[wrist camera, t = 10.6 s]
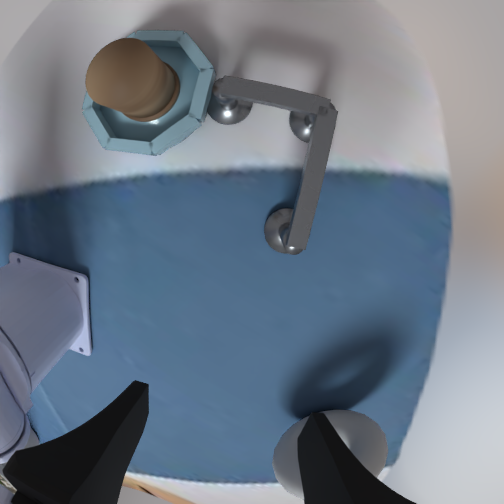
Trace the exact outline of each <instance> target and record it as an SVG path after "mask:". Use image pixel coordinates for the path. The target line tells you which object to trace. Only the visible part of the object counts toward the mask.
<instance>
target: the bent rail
mask: <svg viewBox="0 0 504 504" xmlns="http://www.w3.org/2000/svg"><path fill="white" fill-rule="evenodd" d="M252 102H254V103H259V104H263V105H268V106H273V107H277V108H281V109H286V110H290V111H291V113H290V117H289V123H290V127H291V130H292V131H293V133H294V134H295V135H296V136H297V137H298V138H299V139H300V140H302V141H304V142H307V143H309V144H308V149H307V153H306V158H305V162H304V167H303V171H302V175H301V179H300V184H299V188H298V192H297V196H296V201H295V205H294V209H292V208H282V209H279V210H276V211H275V212H273V213H272V214H271V215H270V216H269V217H268V219H267V221H266V223H265V227H264V233H265V238H266V241H267V243H268V244H269V245H270V247H271V248H273V249H274V250H275V251H277V252H280V253H289V254H292V255H296V254H299V253H300V252H302V250H305V249H306V245H307V242H308V238H309V235H310V230H311V227H312V223H313V219H314V215H315V211H316V207H317V203H318V199H319V195H320V191H321V186H322V182H323V178H324V174H325V169H326V165H327V161H328V156H329V152H330V147H331V143H332V138H333V133H334V129H335V124H336V119H337V114H338V111H336V109H335V107H334V106H333V104H332V103H330V99H327V98H323V97H320V96H316V95H313V94H309V93H305V92H302V91H298V90H294V89H290V88H286V87H281V86H277V85H272V84H268V83H263V82H258V81H253V80H247V79H242V78H236V77H230V76H224V78H222V79H219V80H217V81H216V82H215V83H214V84H213V87H212V93H211V98H210V102H209V105H208V108H207V112H208V114H209V115H210V116H211V118H212V119H214V120H215V121H217V122H218V123H221V124H226V125H231V124H236V123H239V122H241V121H242V120H244V119H245V118H246V117H247V116H248V115H249V113H250V111H251V108H252Z"/></svg>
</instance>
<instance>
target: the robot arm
mask: <svg viewBox="0 0 504 504" xmlns="http://www.w3.org/2000/svg"><path fill="white" fill-rule="evenodd" d="M76 277H77V278H78V279H79V281H78V280H77V279H76ZM68 349H71V350H74V351H76V352H79V353H81V354H84V355H87V356H89V355H90V354H91V353H92V346H91V333H90V317H89V281H88V278H87V276H86V275H84V274H81V273H78V272H74V271H71V270H68V269H64V268H61V267H58V266H55V265H51V264H48V263H45V262H42V261H39V260H36V259H33V258H30V257H27V256H24V255H21V254H18V253H15V252H12V253H10V255H9V264H7V265H5V266H3V267H1V268H0V464H2V463H6V462H7V463H6V465H5V467H4V468H3V470H2V471H3V474H4V476H5V477H6V479H7V480H8V481H9V482H10V483H11V484H12V486H13V487H14V488H15V489H16V490H17V491H16V493H15V494H13V493H12V492H11V491H9V490H8V489H7V488H5V487H4V486H2V485H1V484H0V504H117V502H118V498H119V494H120V490H121V486H122V483H123V479H124V476H125V473H126V470H127V468H128V465H129V463H130V461H131V458H132V456H133V454H134V452H135V449H136V447H137V445H138V443H139V440H140V438H141V436H142V433H143V431H144V427H145V424H146V421H147V417H148V414H149V396H148V392H149V384H146V383H143V382H139V381H136V380H135V381H133V382H132V383H131V384H130V385H129V386H128V387H127V388H126V389H125V390H124V391H123V392H122V393H121V394H120V395H119V396H118V397H117V398H116V399H115V400H114V401H113V402H111V403H110V404H109V405H108V406H107V407H106V408H104V409H103V410H102V411H101V412H99V413H98V414H97V415H95V416H94V417H93V418H91V419H90V420H89V421H87V422H86V423H84V424H82V425H81V426H79V427H78V428H76V429H74V430H72V431H70V432H68V433H66V434H65V435H63V436H60V437H58V438H56V439H53V440H51V441H48V442H45V443H43V444H40V445H37V446H33V447H29V448H25V449H24V447H25V446H26V444H27V442H28V439H29V436H30V422H29V419H28V417H27V415H26V413H27V412H28V411H29V409H30V408H31V407H32V405H33V403H32V401H31V399H30V394H31V393H32V392H33V391H34V389H35V388H36V387H37V386H38V384H39V383H40V382H41V381H42V380H43V378H44V377H45V376H46V375H47V374H48V372H49V371H50V370H51V369H52V368H53V366H54V365H55V364H56V363H57V362H58V361H59V359H60V358H61V357H62V356H63V355H64V354H65V353H66V351H67V350H68ZM297 451H298V463H299V469H300V475H301V481H302V487H303V493H304V502H305V504H416V503H414V502H412V501H410V500H408V499H406V498H404V497H403V496H401V495H399V494H398V493H396V492H395V491H393V490H391V489H390V488H389V487H387V486H386V485H385V484H383V483H382V482H381V481H380V480H378V479H377V478H376V477H375V476H374V475H373V474H372V473H371V472H370V471H368V470H367V469H366V468H365V467H364V466H363V465H362V464H361V462H360V461H359V460H358V459H357V458H356V457H355V456H354V454H353V453H352V452H351V451H350V449H349V448H348V447H347V445H346V444H345V443H344V441H343V440H342V439H341V437H340V436H339V434H338V433H337V431H336V430H335V429H334V427H333V426H332V424H331V423H330V421H329V420H328V418H327V417H326V415H325V414H324V413H315V412H311V414H310V416H309V418H308V420H307V422H306V424H305V425H304V427H303V429H302V431H301V433H300V435H299V436H298V438H297Z"/></svg>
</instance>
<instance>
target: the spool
mask: <svg viewBox="0 0 504 504" xmlns="http://www.w3.org/2000/svg"><path fill="white" fill-rule="evenodd" d="M86 89H87V92H88V95H89V96H90V98H91V99H92V100H93V101H94V102H96V103H98V104H100V105H103V106H105V107H108V108H111V109H114V110H117V111H119V112H122V113H123V114H124V115H125V116H126V117H128V118H130V119H132V120H135V121H139V122H149V121H154V120H156V119H159V118H161V117H162V116H164V115H165V114H166V113H168V112H169V111H170V110H171V109H172V107H173V106H174V105H175V103H176V101H177V99H178V97H179V93H180V79H179V76H178V74H177V73H176V71H175V70H174V69H173V68H172V67H171V66H170V65H169V64H167V63H165V62H163V61H162V60H161V59H160V58H159V57H158V56H157V55H156V54H155V53H154V51H153V50H152V49H151V48H150V47H149V46H148V45H147V44H146V43H145V42H143V41H141V40H139V39H136V38H122V39H119V40H116V41H113V42H111V43H110V44H108V45H106V46H105V47H104V48H103V49H101V50H100V51H99V52H98V53H97V54H96V56H95V57H94V58H93V60H92V61H91V63H90V65H89V68H88V70H87V74H86Z"/></svg>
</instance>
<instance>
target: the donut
mask: <svg viewBox="0 0 504 504" xmlns="http://www.w3.org/2000/svg"><path fill="white" fill-rule="evenodd" d="M318 413H324V414H325V415H326V417H327V418H328V420H329V421H330V423H331V424H332V426H333V427H334V429H335V430H336V431H337V433H338V434H339V436H340V437H341V439H342V440H343V441H344V443H345V444H346V445H347V447H348V448H349V449H350V451H351V452H352V453H353V454H354V456H355V457H356V458H357V459H358V460H359V461H360V462H361V464H362V465H363V466H364V467H365V468H366V469H367V470H368V471H370V472H371V473H372V474H373V475H374V476H375V477H376V478H377V477H378V475H379V474H380V472H381V471H382V469H383V468H384V466H385V462H386V458H387V454H388V447H387V441H386V436H385V433H384V432H383V431H382V429H381V428H380V426H379V425H378V424H377V423H376V422H375V421H373V420H372V419H370V418H369V417H367V416H366V415H365V414H361V413H358V412H355V411H351V410H329V411H322V412H318ZM308 418H309V416H307V417H305V418H303V419H302V420H300V421H298V422H297V423H295V424H293V425H292V426H291V427H290V428H289V429H288V430H287V431H286V432H285V433H284V434H283V435H282V437H281V438H280V440H279V442H278V444H277V446H276V447H275V449H274V455H273V462H272V464H273V469H274V472H275V476H276V479H277V480H278V481H279V483H280V484H281V485H282V486H283V487H284V489H285V490H286V491H287V492H289V493H290V494H292V495H294V496H296V497H298V498H300V499H302V500H304V493H303V487H302V481H301V475H300V469H299V463H298V451H297V438H298V436H299V435H300V433H301V431H302V429H303V427H304V425H305V424H306V422H307V420H308Z"/></svg>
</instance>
